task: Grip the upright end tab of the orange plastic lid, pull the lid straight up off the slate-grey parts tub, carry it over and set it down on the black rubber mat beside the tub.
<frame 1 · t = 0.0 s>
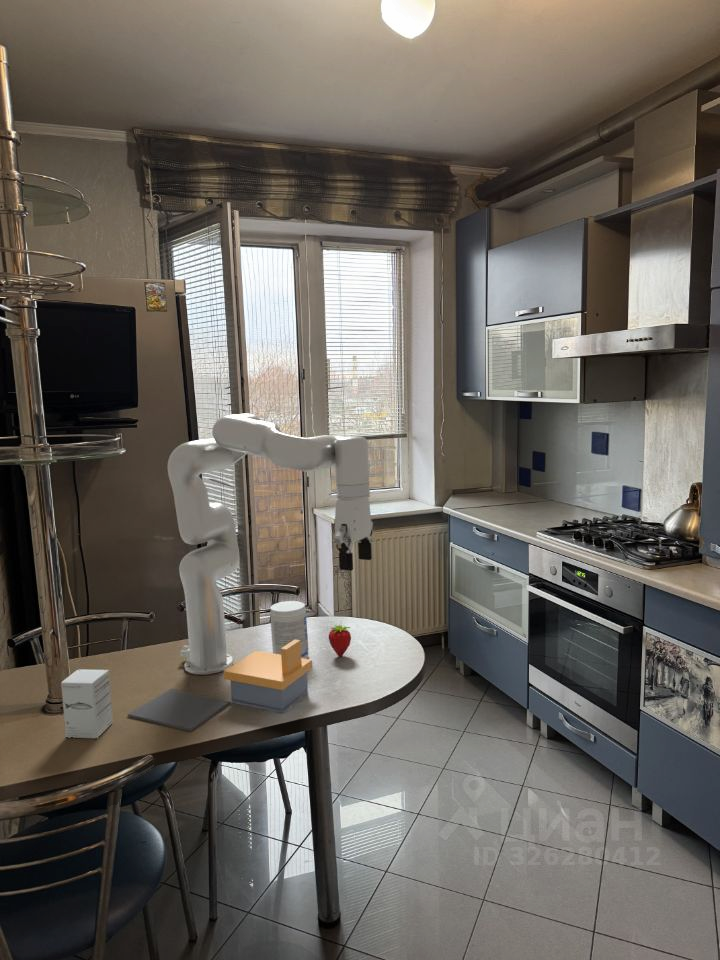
hand: (356, 564, 156), 31 cm above the table, tool pointing down, fingers open, 9 cm apart
mat: (180, 709, 156), on the table
supplement box: (90, 731, 148), on the table
supplement tub: (290, 659, 183), on the table
strawberry: (340, 657, 183), on the table
lid: (268, 669, 159), point 7 cm above the table, touching parts tub
parts tub: (270, 697, 160), on the table
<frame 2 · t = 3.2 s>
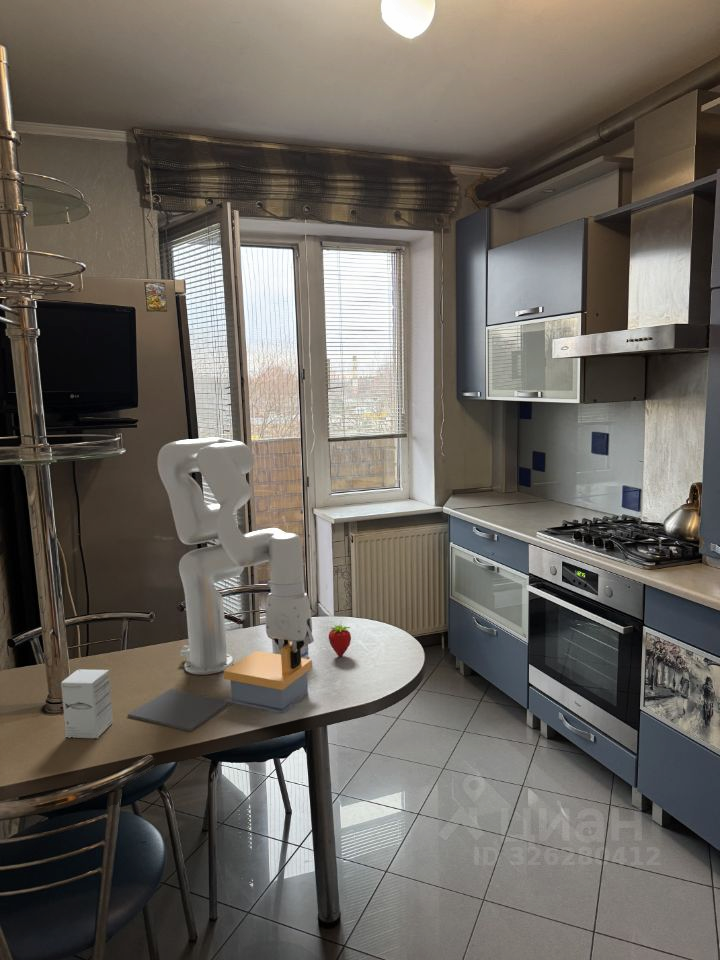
hand: (291, 665, 156), 9 cm above the table, tool pointing down, fingers closed on lid
lid: (268, 669, 159), point 7 cm above the table, touching gripper
everything else where it was.
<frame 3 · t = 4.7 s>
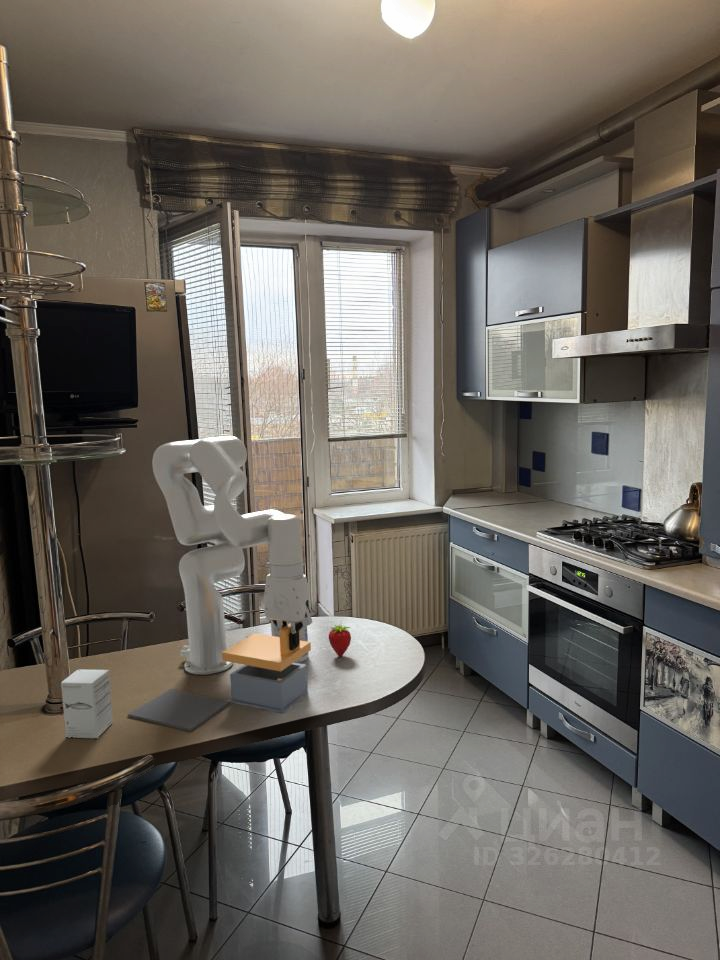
hand: (290, 647, 156), 13 cm above the table, tool pointing down, fingers closed on lid
lid: (266, 651, 159), point 11 cm above the table, touching gripper
everything else where it was.
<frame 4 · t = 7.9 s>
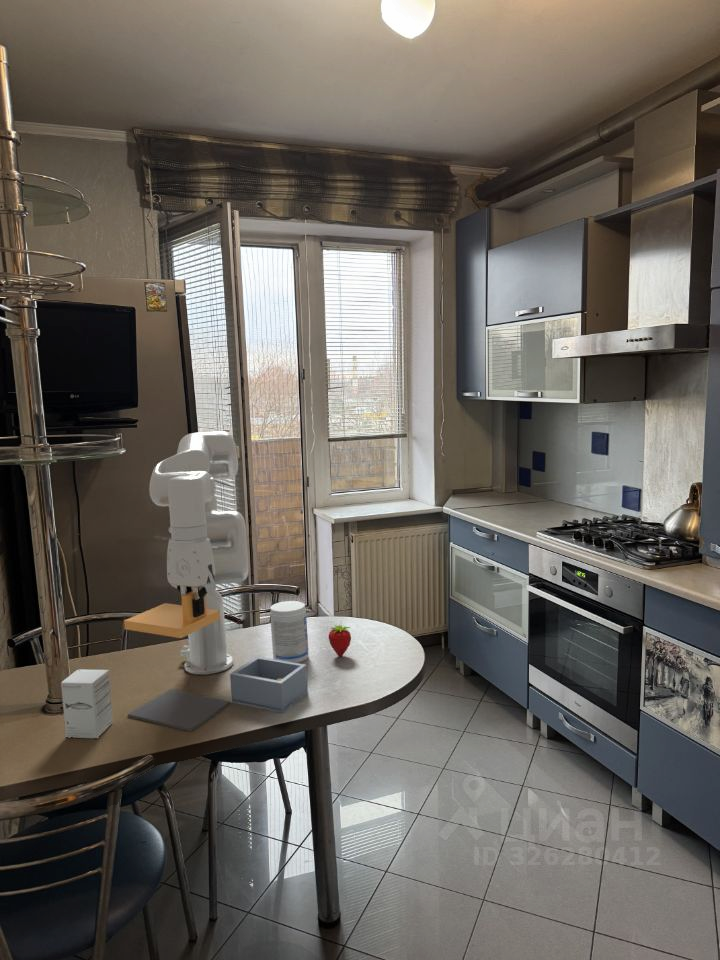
hand: (195, 614, 150), 23 cm above the table, tool pointing down, fingers closed on lid
lid: (172, 619, 153), point 22 cm above the table, touching gripper
everything else where it was.
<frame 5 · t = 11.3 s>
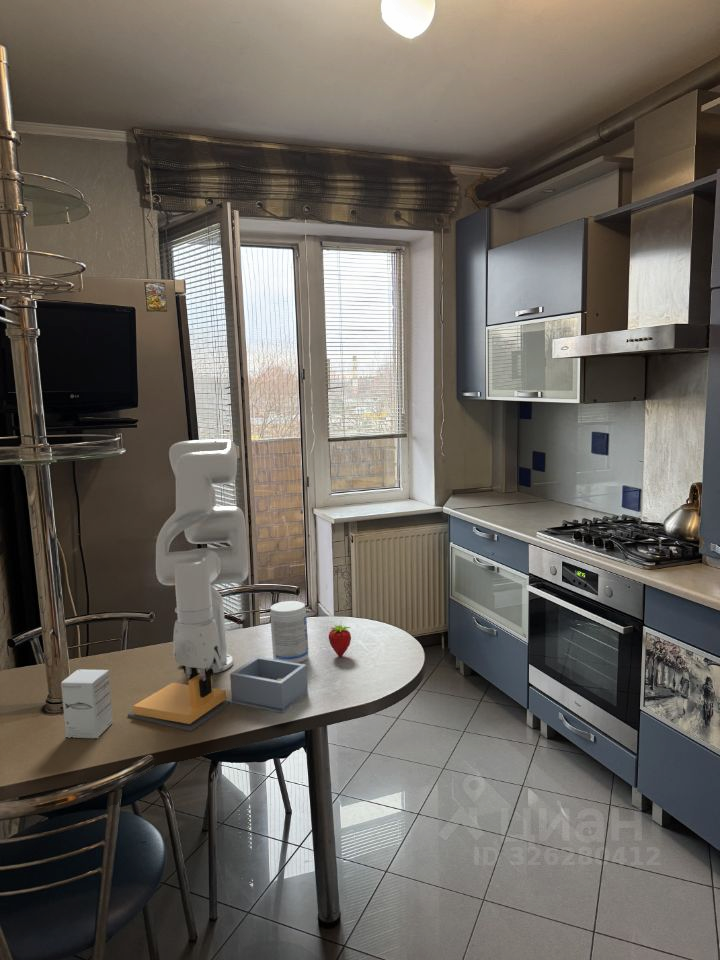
hand: (201, 693, 152), 5 cm above the table, tool pointing down, fingers closed
lid: (180, 702, 155), point 2 cm above the table, touching gripper
everything else where it was.
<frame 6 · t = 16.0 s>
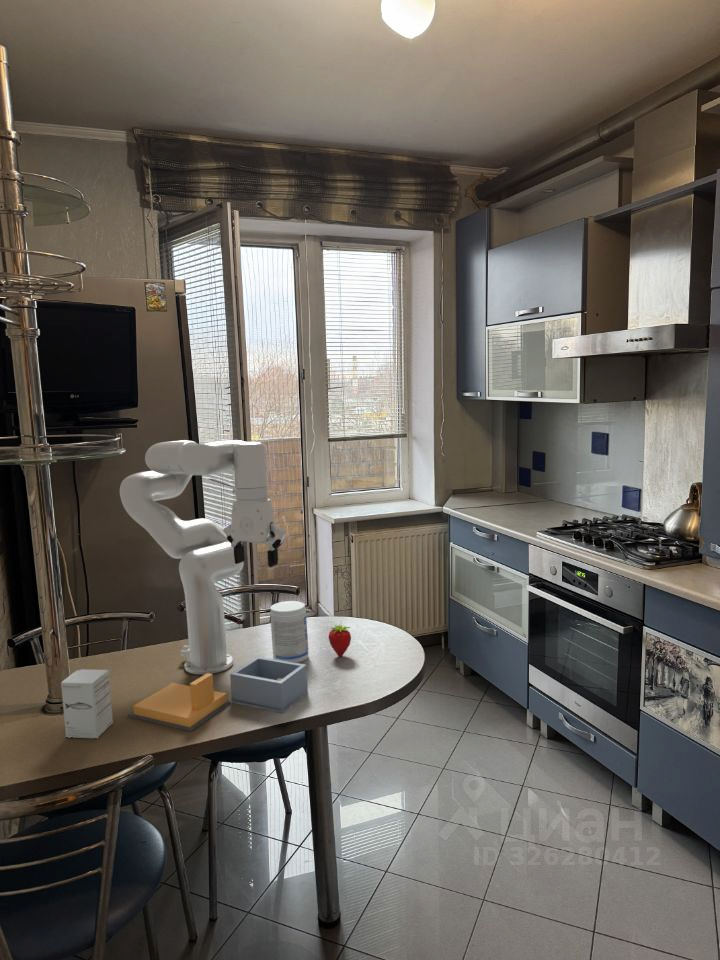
hand: (256, 564, 164), 30 cm above the table, tool pointing down, fingers open, 9 cm apart
lid: (180, 703, 155), point 2 cm above the table, touching mat
everything else where it was.
at the end: lid inside the target area (0.4 cm from its centre), point 1.6 cm above the table; lid touching mat; lid tilted 0° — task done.
